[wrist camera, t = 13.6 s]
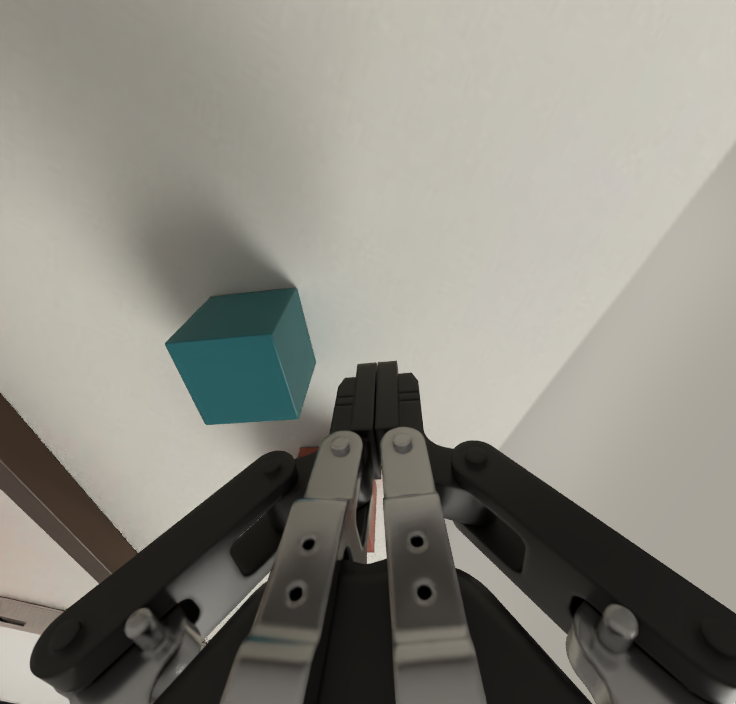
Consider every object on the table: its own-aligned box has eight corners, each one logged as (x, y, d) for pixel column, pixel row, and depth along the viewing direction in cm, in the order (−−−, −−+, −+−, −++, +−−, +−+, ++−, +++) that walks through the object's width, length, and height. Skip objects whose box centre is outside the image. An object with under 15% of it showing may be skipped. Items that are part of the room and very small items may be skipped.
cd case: (-34, 696, 52) (-88, 609, 36) (-18, 674, 55) (-62, 582, 38) (211, 741, 58) (258, 683, 42) (217, 719, 60) (264, 657, 44)
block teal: (296, 286, 18) (271, 333, 14) (316, 362, 20) (299, 419, 17) (210, 296, 19) (163, 343, 15) (238, 368, 21) (205, 425, 17)
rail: (-261, 88, 15) (-369, 84, 13) (183, 606, 38) (171, 635, 36) (-300, 96, 15) (-413, 94, 13) (165, 606, 38) (152, 635, 36)
